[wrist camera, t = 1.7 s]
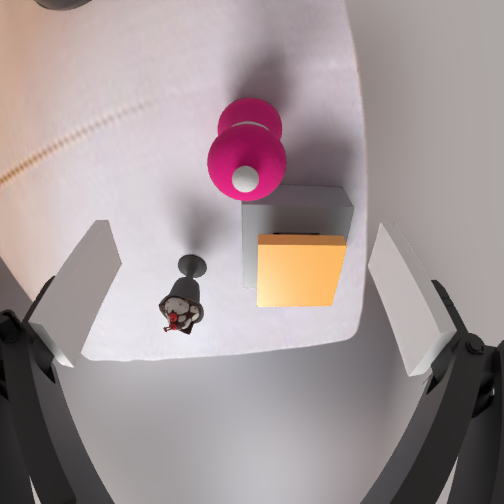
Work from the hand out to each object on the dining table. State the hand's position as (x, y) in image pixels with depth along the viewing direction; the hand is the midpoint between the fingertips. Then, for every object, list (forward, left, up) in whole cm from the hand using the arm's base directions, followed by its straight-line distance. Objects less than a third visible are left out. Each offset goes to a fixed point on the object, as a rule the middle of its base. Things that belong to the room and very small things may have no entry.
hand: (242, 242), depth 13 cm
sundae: (+24, -10, -26) cm, 37 cm away
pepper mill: (0, 0, -26) cm, 26 cm away
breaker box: (+16, +6, -26) cm, 31 cm away
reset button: (+16, +6, -22) cm, 27 cm away
